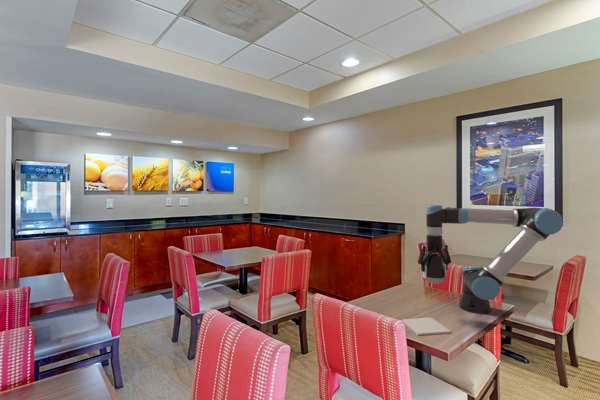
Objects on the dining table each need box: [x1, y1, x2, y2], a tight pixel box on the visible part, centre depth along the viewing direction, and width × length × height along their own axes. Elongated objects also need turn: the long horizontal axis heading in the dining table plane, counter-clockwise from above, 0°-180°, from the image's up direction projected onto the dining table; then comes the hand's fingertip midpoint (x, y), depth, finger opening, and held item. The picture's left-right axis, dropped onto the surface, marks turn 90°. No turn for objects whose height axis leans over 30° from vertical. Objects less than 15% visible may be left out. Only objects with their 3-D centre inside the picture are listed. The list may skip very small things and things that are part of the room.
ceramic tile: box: [401, 317, 452, 336], centre depth 151 cm, size 16×16×1 cm
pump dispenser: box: [424, 253, 446, 285], centre depth 166 cm, size 10×10×15 cm
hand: (434, 277), depth 166 cm, fingers closed on pump dispenser, 10 cm apart
